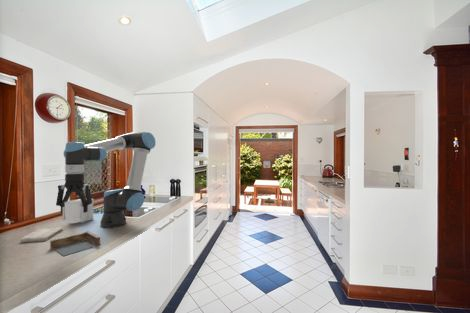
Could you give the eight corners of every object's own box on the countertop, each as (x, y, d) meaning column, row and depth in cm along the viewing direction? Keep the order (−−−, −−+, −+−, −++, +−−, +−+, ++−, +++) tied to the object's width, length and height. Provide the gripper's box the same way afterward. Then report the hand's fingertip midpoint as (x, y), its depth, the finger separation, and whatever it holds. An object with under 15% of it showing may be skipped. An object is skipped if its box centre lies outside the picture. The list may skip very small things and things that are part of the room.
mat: (83, 241, 114) (83, 241, 114) (92, 247, 107) (92, 246, 107) (54, 249, 104) (54, 248, 104) (63, 256, 97) (63, 255, 97)
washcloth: (64, 230, 131) (64, 225, 131) (46, 242, 114) (46, 236, 114) (41, 232, 129) (41, 227, 129) (19, 244, 111) (19, 238, 111)
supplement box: (93, 219, 154) (94, 198, 154) (83, 222, 146) (83, 201, 146) (83, 218, 156) (83, 197, 156) (71, 222, 147) (72, 200, 147)
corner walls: (88, 238, 118) (88, 231, 118) (100, 244, 110) (100, 237, 110) (50, 248, 105) (50, 240, 105) (60, 256, 97) (60, 248, 97)
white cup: (70, 224, 100) (71, 203, 100) (60, 222, 103) (60, 202, 103) (87, 220, 108) (87, 200, 108) (77, 218, 111) (77, 199, 111)
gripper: (46, 173, 100) (45, 222, 100) (93, 173, 104) (93, 220, 104) (56, 172, 107) (56, 217, 107) (100, 172, 111) (100, 216, 111)
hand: (74, 219), depth 105 cm, fingers closed on white cup, 7 cm apart
